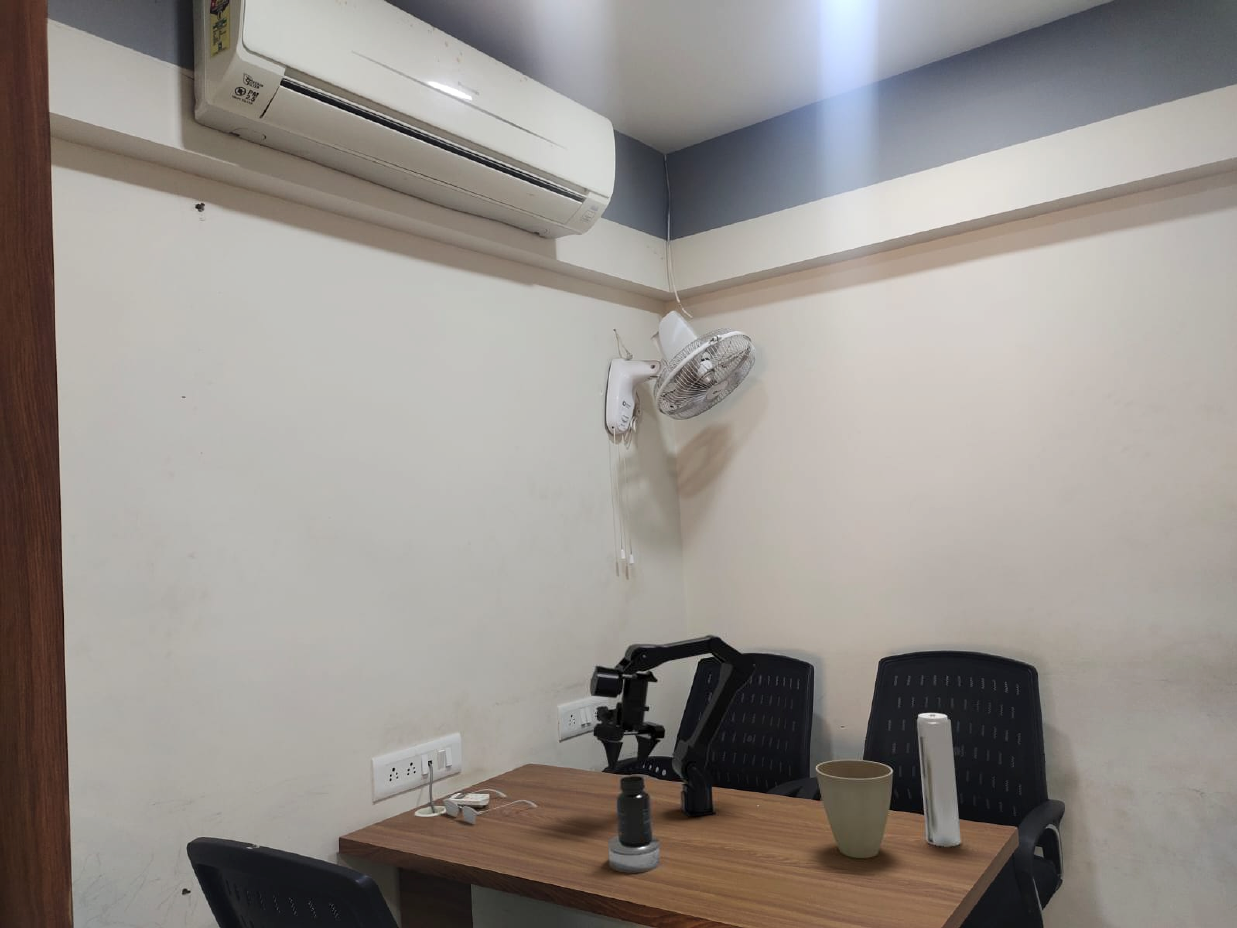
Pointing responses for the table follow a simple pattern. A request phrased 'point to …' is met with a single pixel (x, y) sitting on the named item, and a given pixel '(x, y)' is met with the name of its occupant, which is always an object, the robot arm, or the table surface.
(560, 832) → the table surface
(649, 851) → the grey short cylinder
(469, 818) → the eyeglasses
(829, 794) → the plant pot
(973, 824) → the table surface
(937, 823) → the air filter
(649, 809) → the supplement bottle
